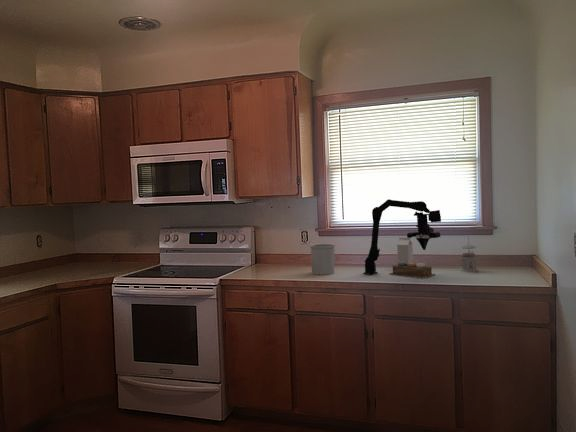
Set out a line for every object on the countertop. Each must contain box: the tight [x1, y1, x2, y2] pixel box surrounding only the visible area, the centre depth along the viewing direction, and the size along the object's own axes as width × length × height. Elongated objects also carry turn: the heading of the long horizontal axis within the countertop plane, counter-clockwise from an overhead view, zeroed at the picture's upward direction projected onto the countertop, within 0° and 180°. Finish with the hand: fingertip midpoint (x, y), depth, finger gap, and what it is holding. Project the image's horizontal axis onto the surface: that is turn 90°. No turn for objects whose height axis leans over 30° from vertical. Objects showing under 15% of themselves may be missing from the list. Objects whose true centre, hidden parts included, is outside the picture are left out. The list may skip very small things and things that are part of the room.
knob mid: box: [407, 261, 417, 267], centre depth 279 cm, size 5×5×5 cm
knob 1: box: [397, 261, 407, 266], centre depth 283 cm, size 5×5×5 cm
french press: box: [460, 227, 479, 273], centre depth 284 cm, size 10×12×25 cm
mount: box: [388, 264, 436, 279], centre depth 279 cm, size 12×23×5 cm, turn 43°
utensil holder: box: [310, 242, 335, 276], centre depth 296 cm, size 15×15×18 cm
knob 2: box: [416, 262, 427, 268], centre depth 274 cm, size 5×5×5 cm
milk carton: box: [396, 237, 414, 263], centre depth 302 cm, size 7×7×19 cm
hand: (424, 249), depth 280 cm, fingers closed
